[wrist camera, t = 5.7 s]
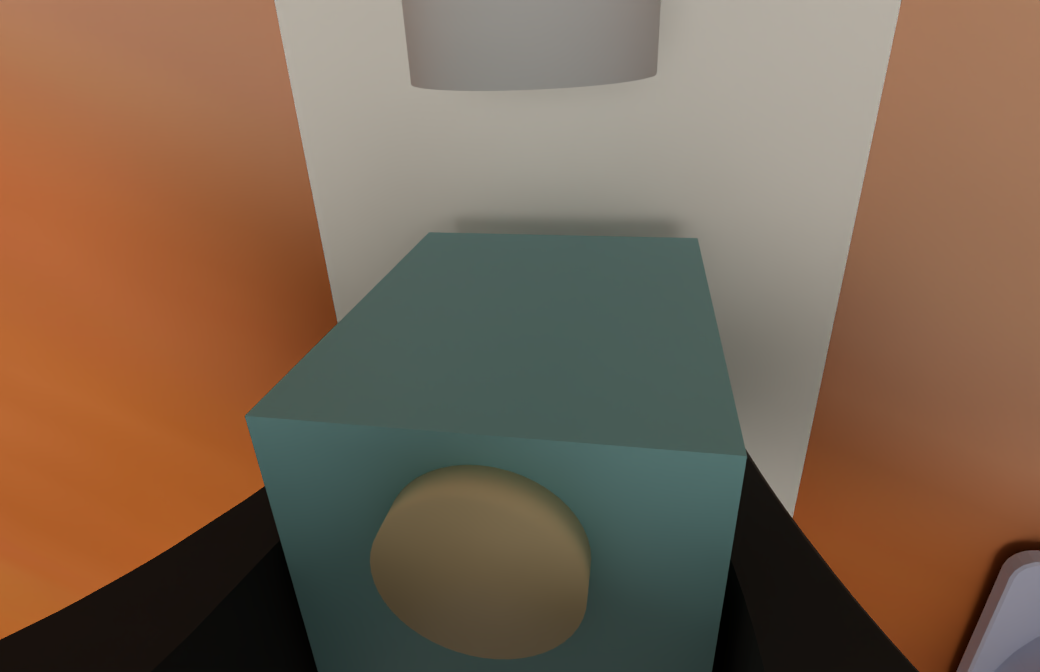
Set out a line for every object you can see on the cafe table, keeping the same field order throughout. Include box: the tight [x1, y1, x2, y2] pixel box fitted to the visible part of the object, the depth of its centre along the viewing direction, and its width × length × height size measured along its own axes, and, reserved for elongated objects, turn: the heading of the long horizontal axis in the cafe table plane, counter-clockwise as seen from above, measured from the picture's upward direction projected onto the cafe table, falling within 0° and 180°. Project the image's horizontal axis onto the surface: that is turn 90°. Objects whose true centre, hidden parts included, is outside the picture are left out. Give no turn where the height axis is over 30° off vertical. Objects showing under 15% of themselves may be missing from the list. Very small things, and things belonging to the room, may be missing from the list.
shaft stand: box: [274, 0, 901, 518], centre depth 10 cm, size 9×25×6 cm, turn 2°
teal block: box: [245, 232, 747, 672], centre depth 8 cm, size 6×4×5 cm, turn 2°
